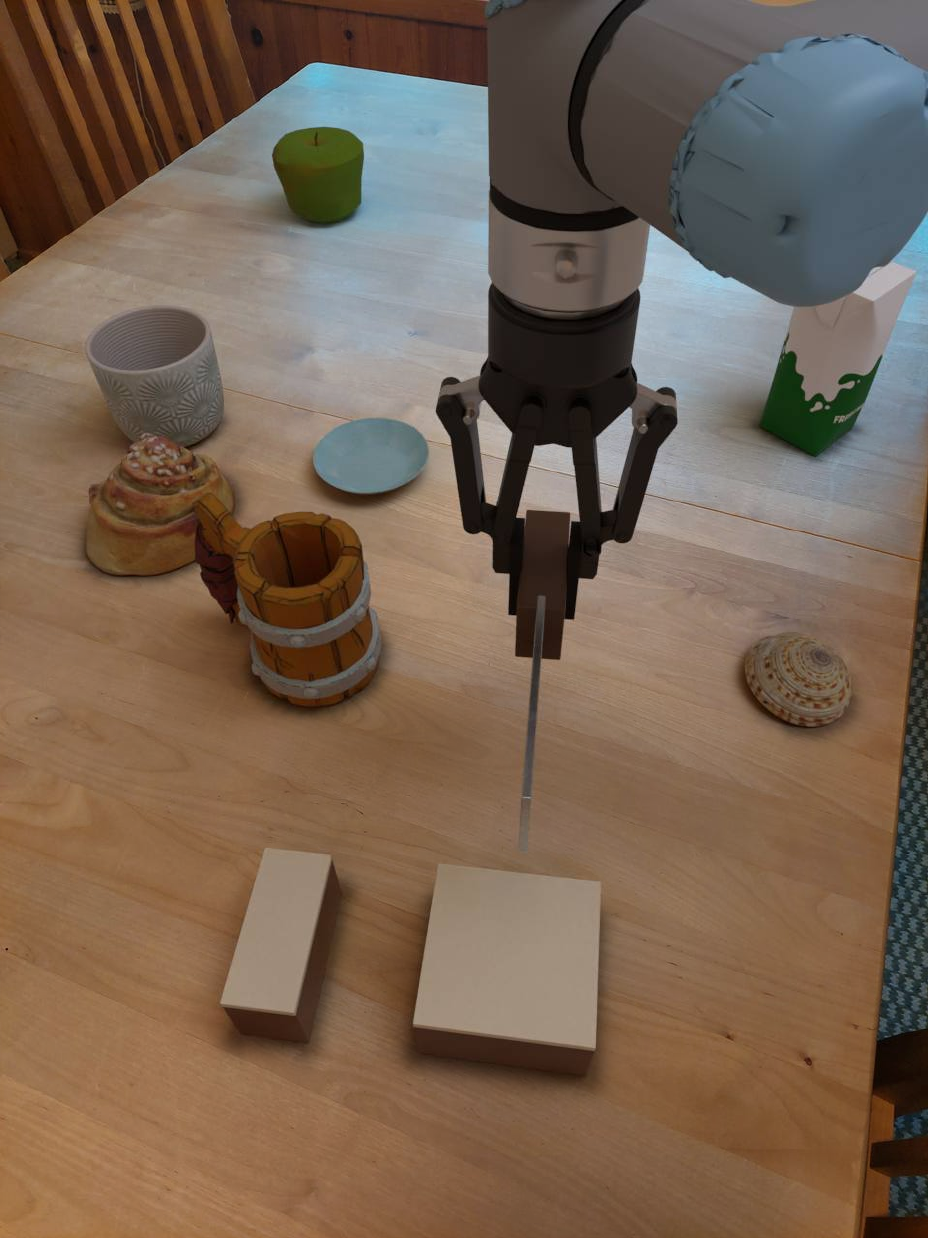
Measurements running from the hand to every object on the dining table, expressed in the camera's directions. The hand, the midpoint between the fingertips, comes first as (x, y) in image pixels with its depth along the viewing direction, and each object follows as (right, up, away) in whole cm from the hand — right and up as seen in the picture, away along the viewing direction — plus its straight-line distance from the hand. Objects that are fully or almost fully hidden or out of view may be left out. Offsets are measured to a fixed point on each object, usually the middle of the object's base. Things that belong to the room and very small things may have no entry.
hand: (542, 602), depth 62 cm
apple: (-25, +58, +69) cm, 94 cm away
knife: (-1, -6, -4) cm, 7 cm away
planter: (-37, +20, +37) cm, 56 cm away
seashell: (+22, -7, +13) cm, 26 cm away
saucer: (-15, +14, +31) cm, 38 cm away
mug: (-20, -4, +16) cm, 26 cm away
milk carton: (+31, +19, +35) cm, 51 cm away
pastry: (-35, +8, +27) cm, 45 cm away
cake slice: (-17, -24, -2) cm, 29 cm away
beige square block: (-2, -25, -3) cm, 25 cm away
